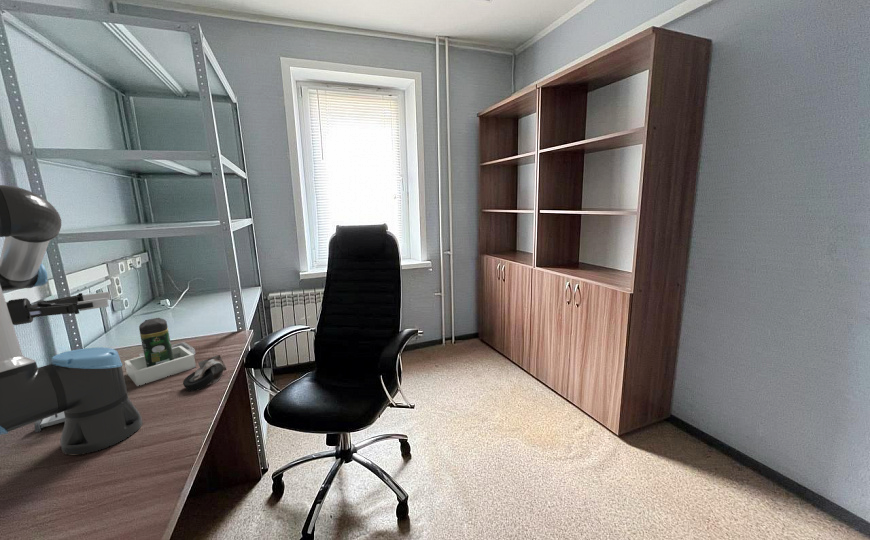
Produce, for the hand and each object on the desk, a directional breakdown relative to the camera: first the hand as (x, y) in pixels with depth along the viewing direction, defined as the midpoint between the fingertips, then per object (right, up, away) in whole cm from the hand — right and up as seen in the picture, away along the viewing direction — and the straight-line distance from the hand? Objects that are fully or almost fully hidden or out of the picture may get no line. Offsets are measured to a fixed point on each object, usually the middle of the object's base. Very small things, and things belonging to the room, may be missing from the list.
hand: (109, 298), depth 114 cm
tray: (+8, -27, +12) cm, 31 cm away
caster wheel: (+31, -29, +1) cm, 43 cm away
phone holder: (+3, -33, -14) cm, 36 cm away
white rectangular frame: (+1, -25, +24) cm, 35 cm away
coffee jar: (+8, -27, +12) cm, 30 cm away
